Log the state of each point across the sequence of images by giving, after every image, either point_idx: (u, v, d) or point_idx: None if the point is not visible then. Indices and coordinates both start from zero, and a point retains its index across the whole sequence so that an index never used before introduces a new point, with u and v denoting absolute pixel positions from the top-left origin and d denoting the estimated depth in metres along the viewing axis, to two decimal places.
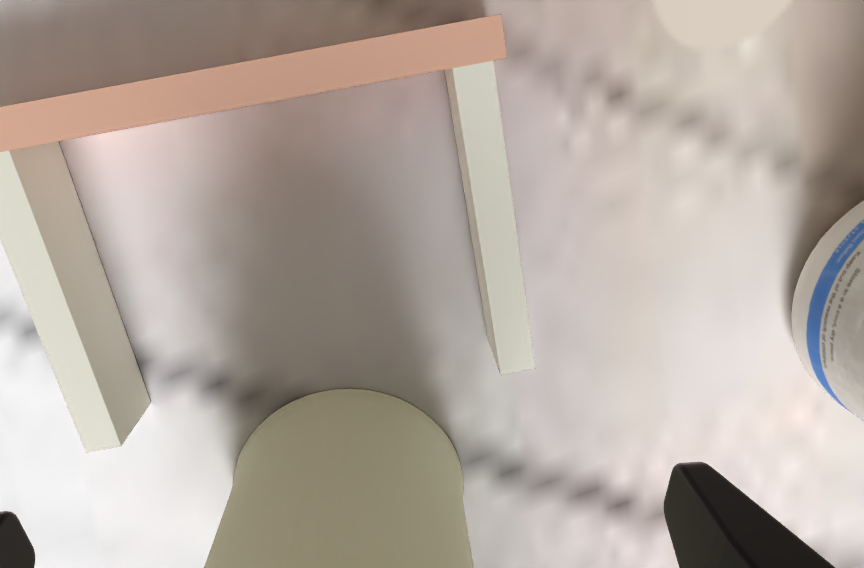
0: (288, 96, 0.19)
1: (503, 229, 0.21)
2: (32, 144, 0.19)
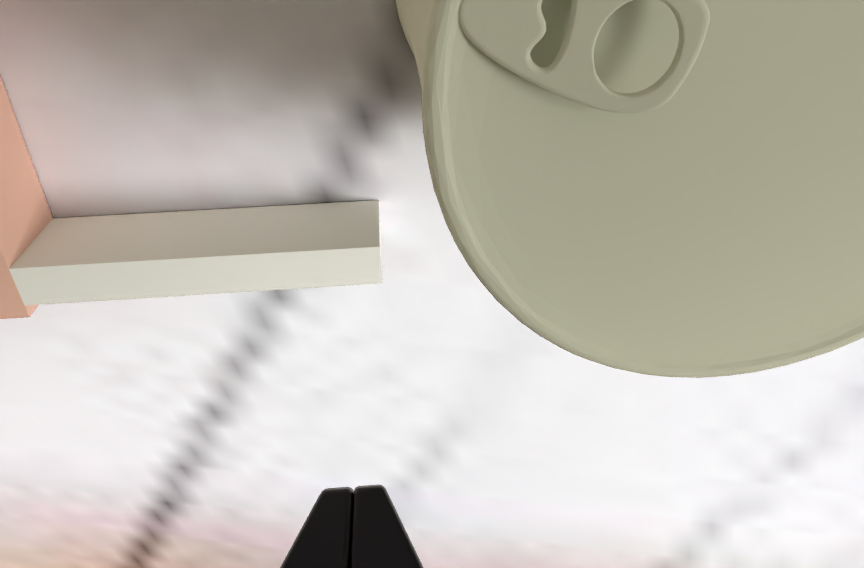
0: None
1: None
2: None
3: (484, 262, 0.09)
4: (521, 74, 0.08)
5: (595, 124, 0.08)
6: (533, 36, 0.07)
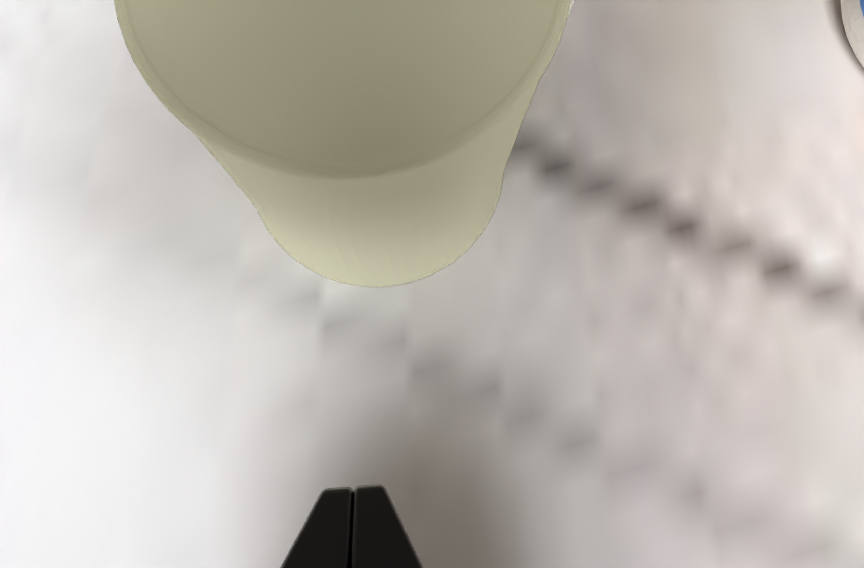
0: None
1: None
2: None
3: None
4: None
5: None
6: None
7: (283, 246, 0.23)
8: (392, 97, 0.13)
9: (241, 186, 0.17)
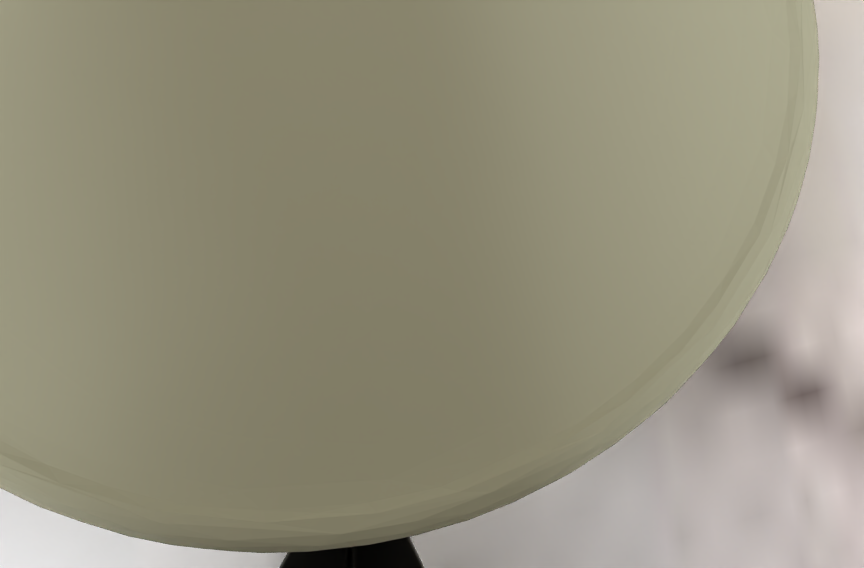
0: None
1: None
2: None
3: None
4: None
5: None
6: None
7: None
8: (406, 330, 0.05)
9: None
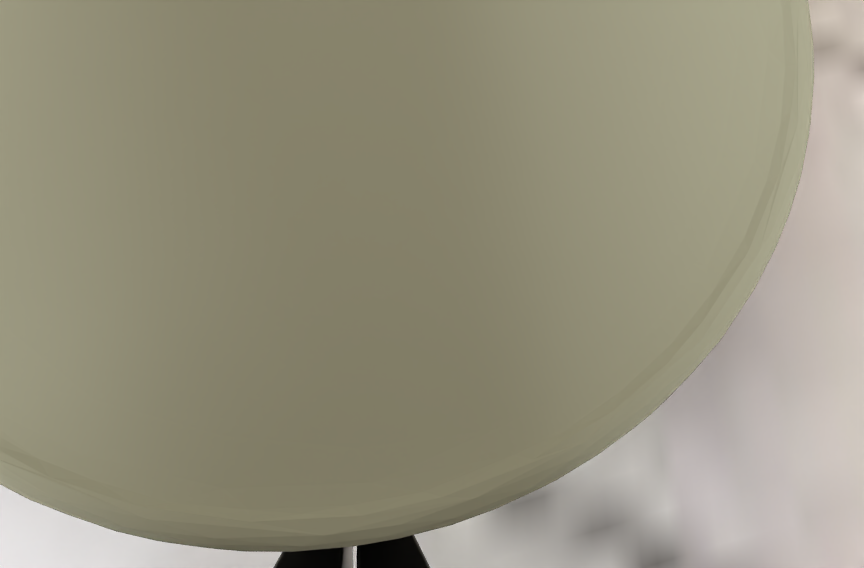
0: None
1: None
2: None
3: None
4: None
5: None
6: None
7: None
8: (396, 336, 0.05)
9: None
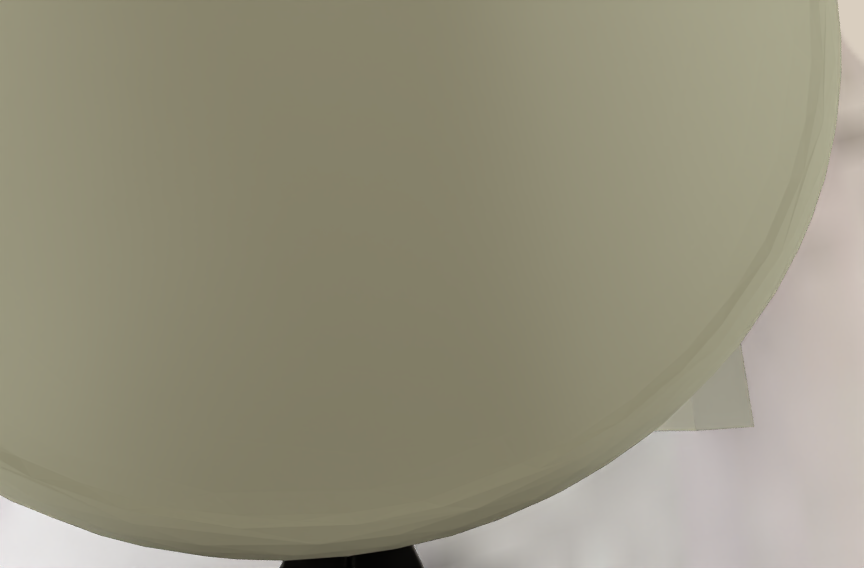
0: None
1: None
2: None
3: None
4: None
5: None
6: None
7: None
8: (397, 336, 0.05)
9: None
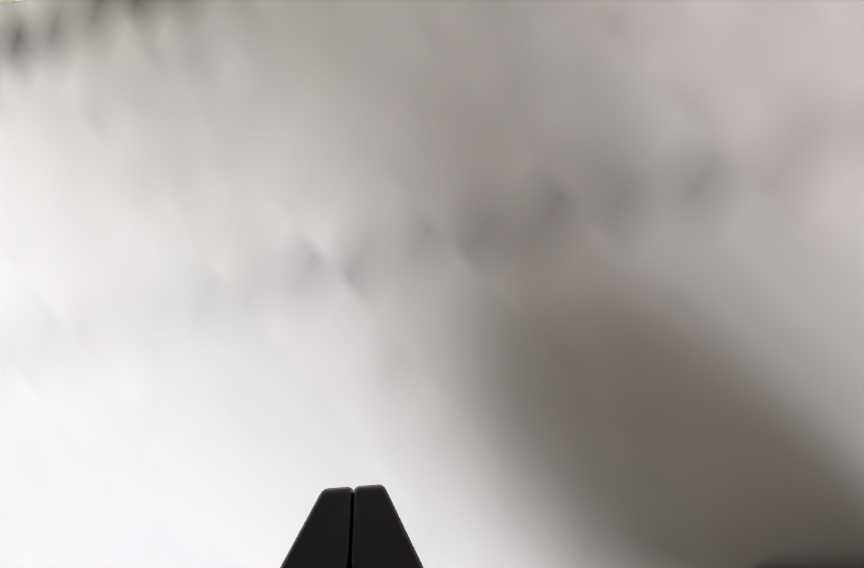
0: None
1: None
2: None
3: None
4: None
5: None
6: None
7: None
8: None
9: None
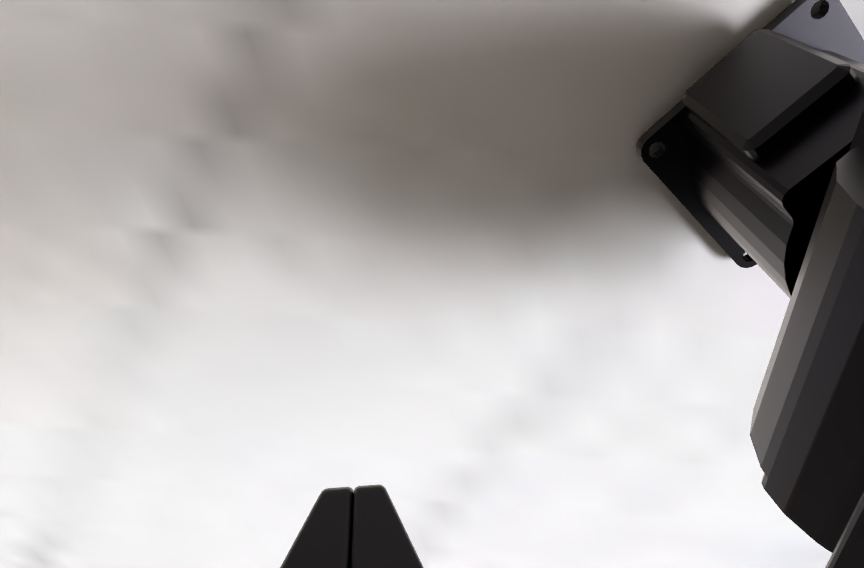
0: None
1: None
2: None
3: None
4: None
5: None
6: None
7: None
8: None
9: None
